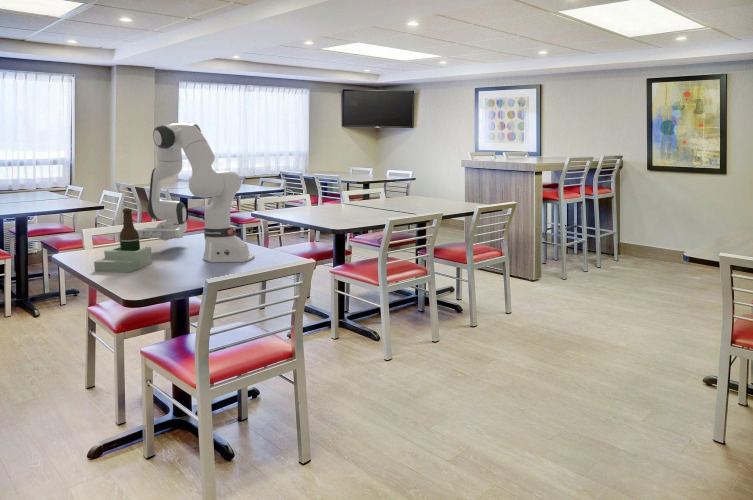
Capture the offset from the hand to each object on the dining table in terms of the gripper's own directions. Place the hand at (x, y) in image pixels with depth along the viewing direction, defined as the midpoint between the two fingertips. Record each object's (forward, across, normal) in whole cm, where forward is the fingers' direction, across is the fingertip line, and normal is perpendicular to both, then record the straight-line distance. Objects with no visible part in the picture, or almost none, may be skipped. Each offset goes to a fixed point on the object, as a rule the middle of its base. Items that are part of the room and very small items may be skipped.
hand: (151, 235), depth 275 cm
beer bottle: (+17, -1, +10) cm, 20 cm away
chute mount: (+23, -1, +10) cm, 25 cm away
